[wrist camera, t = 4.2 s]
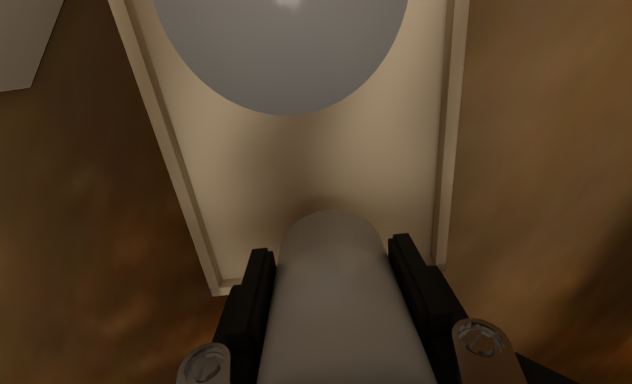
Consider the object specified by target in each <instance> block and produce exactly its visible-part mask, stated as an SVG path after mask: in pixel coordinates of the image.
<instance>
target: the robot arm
mask: <svg viewBox="0 0 632 384" xmlns="http://www.w3.org/2000/svg"><path fill="white" fill-rule="evenodd" d="M388 257H389V260H390V262H391V265H392V267H393V270H394V272H395V275H396V278H397V280H398V283H399V285H400V288H401V290H402V293H403V296H404V298H405V301H406V303H407V306H408V308H409V311H410V314H411V316H412V319H413V321H414V324H415V326H416V329H417V332H418V334H419V337H420V339H421V342H422V344H423V347H424V350H425V352H426V355H427V357H428V360H429V362H430V365H431V368H432V370H433V373H434V375H435V378H436V380H437V383H438V384H579V383H577V382H575V381H573V380H571V379H569V378H567V377H565V376H563V375H561V374H559V373H557V372H555V371H552V370H550V369H548V368H546V367H544V366H542V365H540V364H538V363H536V362H534V361H532V360H530V359H528V358H526V357H524V356H522V355H520V354H518V353H516V352H514V350H513V348H512V345H511V343H510V341H509V339H508V338H507V336H506V334H505V333H504V332H503V331H501V330H500V329H499V328H498V327H496V326H495V325H493V324H492V323H489V322H487V321H484V320H481V319H475V318H469V317H468V315H467V314H466V312H465V311H464V309H463V307H462V306H461V304H460V302H459V301H458V299H457V297H456V296H455V294H454V292H453V291H452V289H451V287H450V286H449V284H448V283H447V281H446V279H445V278H444V276H443V274H442V273H441V271H440V269H439V268H438V267H437V266H436V265H426V264H425V262H424V260H423V258H422V256H421V255H420V253H419V251H418V249H417V247H416V246H415V244H414V242H413V240H412V238H411V237H410V235H409V233H400V234H393V238H389V239H388ZM275 273H276V263H275V258H274V254H273V251H268V249H267V248H257V249H252V251H251V254H250V257H249V261H248V264H247V267H246V270H245V273H244V276H243V280H242V283H241V284H239V285H233V286H232V288H231V290H230V293H229V296H228V298H227V301H226V304H225V307H224V310H223V313H222V315H221V318H220V321H219V324H218V327H217V330H216V332H215V335H214V338H213V341H212V343H207V344H204V345H202V346H199V347H198V348H196V349H195V350H193V351H192V352H191V353H190V354H189V355H188V356H186V357H185V359H184V360H183V362H182V363H181V365H180V368H179V371H178V375H177V380H176V383H175V384H257V378H258V372H259V366H260V360H261V355H262V349H263V343H264V337H265V331H266V325H267V319H268V314H269V308H270V302H271V296H272V290H273V284H274V279H275Z"/></svg>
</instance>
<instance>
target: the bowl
mask: <svg viewBox="0 0 632 384" xmlns="http://www.w3.org/2000/svg"><path fill="white" fill-rule="evenodd" d="M63 1H64V0H0V92H3V91H10V90H17V89H23V88H30V87H31V85H32V82H33V79H34V77H35V74H36V72H37V69H38V66H39V64H40V61H41V59H42V56H43V53H44V51H45V48H46V45H47V43H48V40H49V38H50V35H51V32H52V30H53V27H54V25H55V22H56V19H57V17H58V14H59V12H60V9H61V6H62V4H63Z"/></svg>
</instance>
